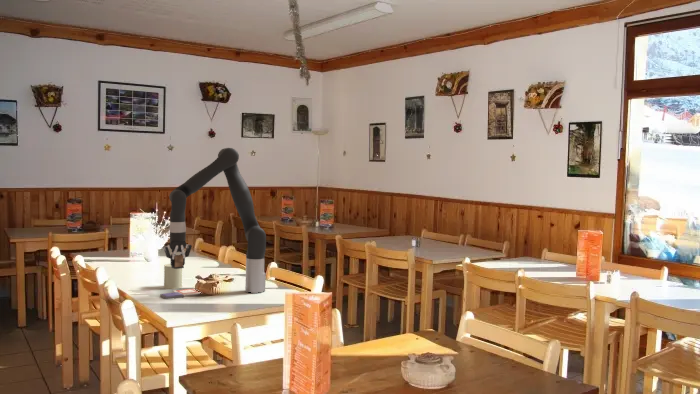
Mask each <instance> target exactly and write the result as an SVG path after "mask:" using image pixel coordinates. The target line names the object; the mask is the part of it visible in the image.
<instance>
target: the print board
mask: <svg viewBox="0 0 700 394" xmlns="http://www.w3.org/2000/svg"><path fill="white" fill-rule="evenodd" d="M196 290H197V289H196ZM196 290H195V288H188V289H187V288H186V289H184V288H183V289H179V290H178V289H177V290H176V289H174V290H172V293H174V292H178V293H181V294H183V295H184V296H192V295H199V294H200V293H201V292H202V291H201V292H198V291H199V290H198V291H196ZM201 294H202V293H201Z"/></svg>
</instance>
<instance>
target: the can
mask: <svg viewBox="0 0 700 394" xmlns="http://www.w3.org/2000/svg"><path fill="white" fill-rule="evenodd" d="M163 270H164V271H163V272H164V273H163V277H164V278H163V288H164V289H165V290H166V289H168V290H176V289H177V290H178V289H181V288H183V268H180V269H174V268H171V263H167V264H164V267H163Z"/></svg>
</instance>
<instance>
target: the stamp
mask: <svg viewBox="0 0 700 394" xmlns="http://www.w3.org/2000/svg"><path fill="white" fill-rule="evenodd" d="M174 259H175V267H172V266H171V268H174V269H180V268H182V269H184V266H185V265H184V266H183V256H182V255H180V254H176V255H175V258H174Z"/></svg>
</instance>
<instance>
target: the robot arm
mask: <svg viewBox="0 0 700 394" xmlns="http://www.w3.org/2000/svg"><path fill="white" fill-rule="evenodd" d="M239 158H240V156H239V153H238V151H237V150H236V149H235V148H233V147H226V148H222V149H221V150H219V151H218V152H217V157H216V159H215V160H214V161H212V162H211V163H210V164H209V165H207V166H206V167H204V168H203V169H201V170H199V171H197V172H196V173H195V174H193V175H192V176H191V177H189V178H188V179H187V180H186V181H185V182H184V183H181V185H179V186H177V187H175V188H174V189H173V190H172V191H170V193H169V196H168V197H169V201H170V202H171V210H170V211H169V212H170V213H169V219H170V220H169V243H168V245H166V246H165V245H164V246H163V247H162V248H163V249H164V250H163V251H164V253H165V256H166V258H168V259H170V264H171V266H172V267H175V259H174V258H175V255H177V253H178V252H179V255H182V256H183V266H185V265H186V258H188V257H189V256H190V253H191V249H192V246H193V245H192V244H189V243H188V244H187V237H186V236H187V235H186V234H187V226H186V207H187V198H188V197H189V196H191V195H192V194H195V193H197V192H198V191H200V189H202V188H203V187H204V186H205V185H207V184H208V183H209V182H210V181H211V180H213V179H214V178H215V177H216V176H218V175H219V174H220V173H222V172H223V173H224V176H225V178H226V182H227V185H228V188H229V191H230V195H231V198H232V201H233V204H234V207H235V208H236V211H237V213H238V215H239V218H240V220H241V222H242V225H243V231H244V236H245V239H246V241H247V250H246V253H245V287H244V288H245V290H244V291H245V293H248V292H251V293H250V294H259V293H258V292H261V293H263V292H262V291H264V292H266V279H267V278H266V275H267V274H266V272H265V255H266V252H267V251H266V249H267V235H266V232H265V230H264V229H263V228H262V227H261V226H260V224H259V222H258V220H257V217H256V215H255V207H254V201H253V198H252V194H251V192H250V188H249V186H248V185H247V182H246V181H245V179H244V178H243V175H242V174H241V173H240V170H239V167H238V161H239V160H240V159H239ZM170 250H171V251H170Z"/></svg>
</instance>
